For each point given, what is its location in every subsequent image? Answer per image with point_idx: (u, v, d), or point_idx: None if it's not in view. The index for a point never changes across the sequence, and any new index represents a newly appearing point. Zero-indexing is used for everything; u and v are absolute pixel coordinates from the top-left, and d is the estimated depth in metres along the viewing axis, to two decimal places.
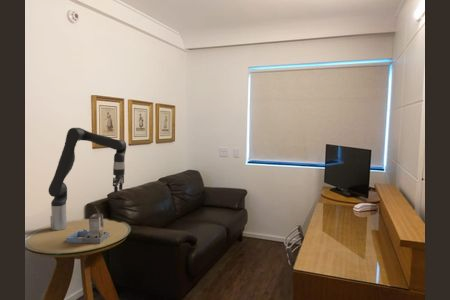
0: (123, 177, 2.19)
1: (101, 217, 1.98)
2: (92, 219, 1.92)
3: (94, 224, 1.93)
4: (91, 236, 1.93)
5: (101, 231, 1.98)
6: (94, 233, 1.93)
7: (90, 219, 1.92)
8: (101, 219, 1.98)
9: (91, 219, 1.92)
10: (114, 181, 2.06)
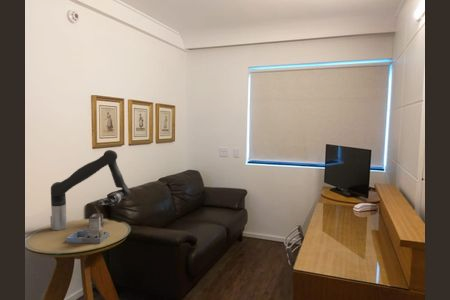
0: None
1: (101, 217, 1.98)
2: (92, 219, 1.92)
3: (94, 224, 1.93)
4: (91, 236, 1.93)
5: (101, 231, 1.98)
6: (94, 233, 1.93)
7: (90, 219, 1.92)
8: (101, 219, 1.98)
9: (91, 219, 1.92)
10: (118, 201, 2.14)
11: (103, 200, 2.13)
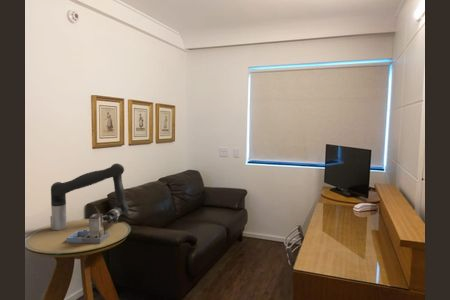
0: None
1: (101, 217, 1.98)
2: (92, 219, 1.92)
3: (94, 224, 1.93)
4: (91, 236, 1.93)
5: (101, 231, 1.98)
6: (94, 233, 1.93)
7: (90, 219, 1.92)
8: (101, 219, 1.98)
9: (91, 219, 1.92)
10: (117, 218, 2.13)
11: None
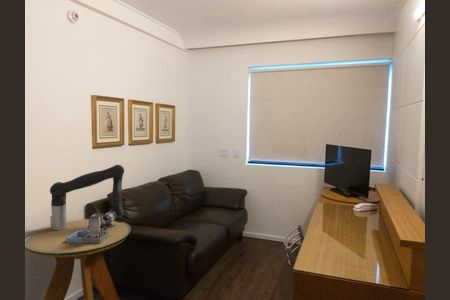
0: None
1: (101, 217, 1.98)
2: (92, 219, 1.92)
3: (94, 224, 1.93)
4: (91, 236, 1.93)
5: (101, 231, 1.98)
6: (94, 233, 1.93)
7: (90, 219, 1.92)
8: (101, 219, 1.98)
9: (91, 219, 1.92)
10: (110, 223, 2.03)
11: None
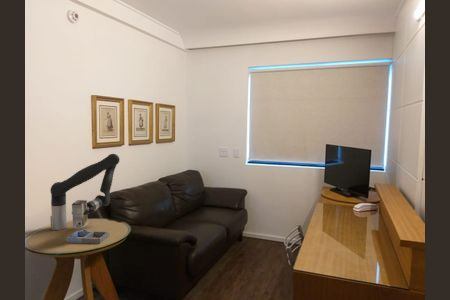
0: None
1: (84, 204, 1.98)
2: (75, 205, 1.92)
3: (77, 211, 1.93)
4: (74, 222, 1.93)
5: (85, 218, 1.98)
6: (77, 219, 1.93)
7: (73, 205, 1.92)
8: (85, 205, 1.98)
9: (74, 205, 1.92)
10: (94, 210, 2.03)
11: None
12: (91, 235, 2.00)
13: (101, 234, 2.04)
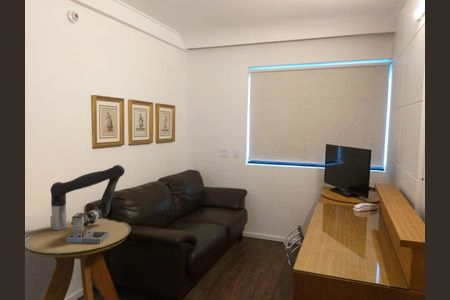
0: None
1: (85, 216, 1.99)
2: (75, 218, 1.93)
3: (77, 224, 1.94)
4: (74, 235, 1.94)
5: (85, 231, 1.99)
6: (77, 232, 1.94)
7: (73, 218, 1.93)
8: (85, 218, 1.98)
9: (74, 218, 1.93)
10: (94, 220, 2.04)
11: None
12: (91, 235, 2.00)
13: (101, 234, 2.04)
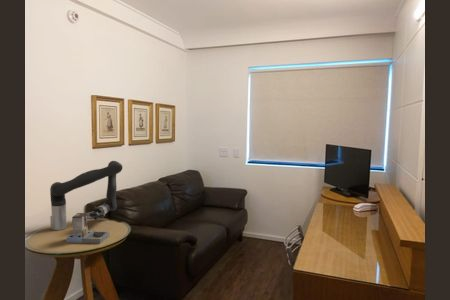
0: (87, 215, 2.18)
1: (85, 217, 1.99)
2: (75, 218, 1.93)
3: (77, 224, 1.94)
4: (74, 235, 1.94)
5: (85, 231, 1.99)
6: (77, 232, 1.94)
7: (73, 218, 1.93)
8: (85, 218, 1.98)
9: (74, 218, 1.93)
10: (103, 214, 2.16)
11: (88, 213, 2.15)
12: (91, 235, 2.00)
13: (101, 234, 2.04)
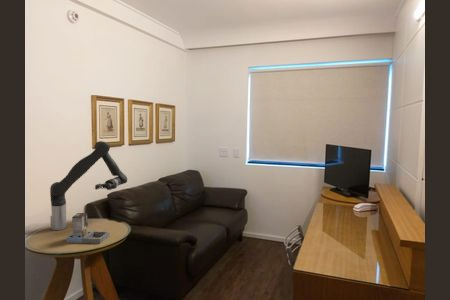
0: None
1: (85, 217, 1.99)
2: (75, 218, 1.93)
3: (77, 224, 1.94)
4: (74, 235, 1.94)
5: (85, 231, 1.99)
6: (77, 232, 1.94)
7: (73, 218, 1.93)
8: (85, 218, 1.98)
9: (74, 218, 1.93)
10: (115, 186, 2.22)
11: (101, 184, 2.21)
12: (91, 235, 2.00)
13: (101, 234, 2.04)
